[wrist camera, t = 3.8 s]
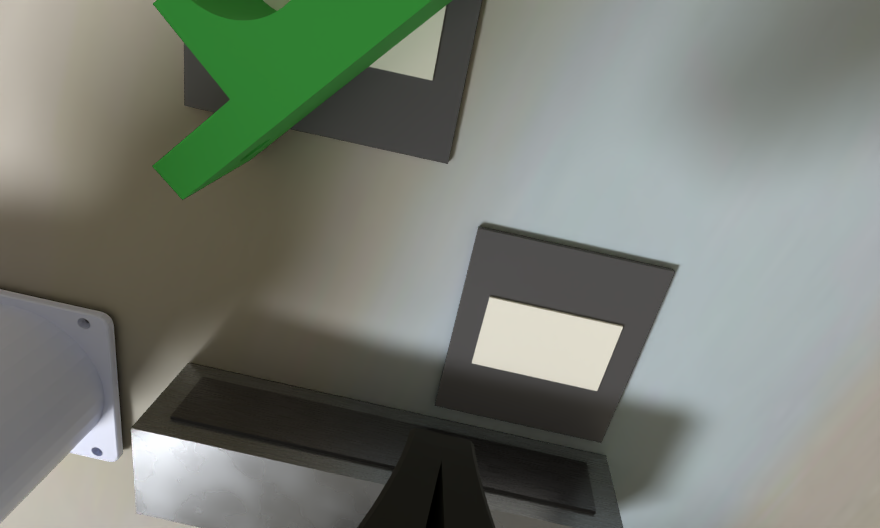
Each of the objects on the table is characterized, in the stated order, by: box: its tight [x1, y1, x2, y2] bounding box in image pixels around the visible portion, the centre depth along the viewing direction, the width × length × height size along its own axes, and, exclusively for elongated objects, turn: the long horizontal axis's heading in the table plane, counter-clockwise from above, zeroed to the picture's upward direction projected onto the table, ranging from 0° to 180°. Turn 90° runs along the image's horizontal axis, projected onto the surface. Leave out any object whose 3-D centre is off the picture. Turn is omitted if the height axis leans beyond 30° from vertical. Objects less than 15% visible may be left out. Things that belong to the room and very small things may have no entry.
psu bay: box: [131, 363, 623, 528], centre depth 22 cm, size 18×5×4 cm, turn 79°
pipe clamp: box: [152, 0, 452, 200], centre depth 14 cm, size 11×4×5 cm, turn 125°
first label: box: [435, 226, 675, 443], centre depth 21 cm, size 7×8×1 cm
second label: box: [184, 0, 482, 164], centre depth 17 cm, size 9×8×1 cm
